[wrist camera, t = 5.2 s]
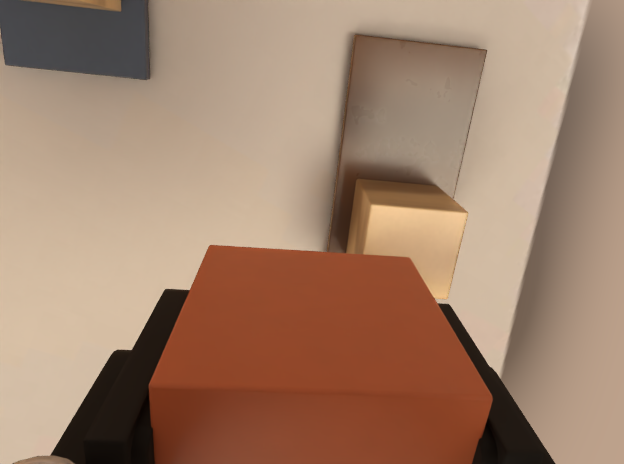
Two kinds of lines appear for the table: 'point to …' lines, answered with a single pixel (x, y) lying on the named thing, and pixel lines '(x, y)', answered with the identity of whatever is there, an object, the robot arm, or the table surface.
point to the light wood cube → (409, 228)
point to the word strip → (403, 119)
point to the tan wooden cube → (86, 3)
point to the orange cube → (314, 366)
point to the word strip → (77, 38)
